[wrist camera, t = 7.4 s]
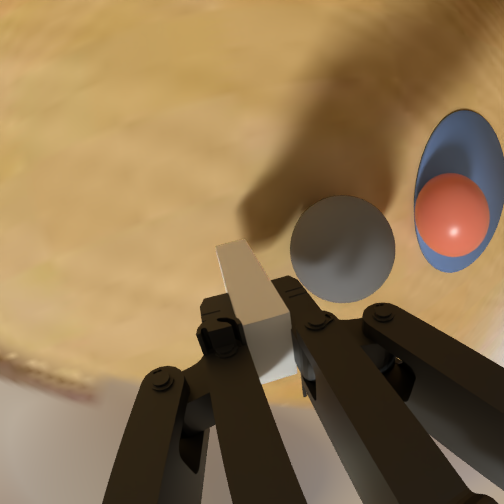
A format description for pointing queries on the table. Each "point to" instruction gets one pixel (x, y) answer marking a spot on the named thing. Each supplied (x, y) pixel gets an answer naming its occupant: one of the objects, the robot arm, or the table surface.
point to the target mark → (464, 173)
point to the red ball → (452, 215)
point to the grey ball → (342, 249)
